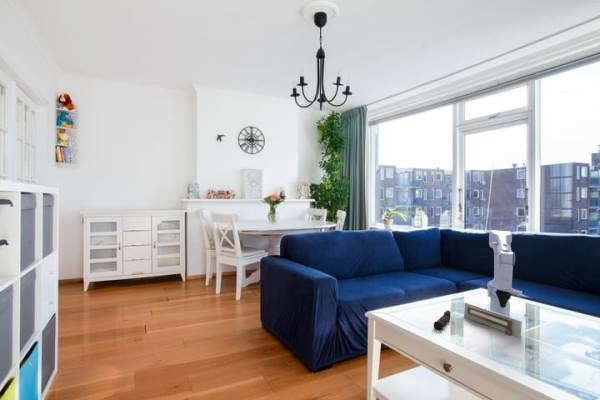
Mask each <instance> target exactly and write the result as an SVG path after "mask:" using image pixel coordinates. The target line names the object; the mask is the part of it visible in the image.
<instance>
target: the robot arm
mask: <svg viewBox="0 0 600 400" xmlns="http://www.w3.org/2000/svg"><path fill="white" fill-rule="evenodd" d="M488 234H489V237H488V240H489V241H488V244H489V247H490V248H492V249H493V253H494V255H493V257H494V258H493V259H494V261H493V262H494V263H493V264H494V265H493V268H494V269H493V270H494V271H493V274H494V275H493V276H494V277H493V279H492V280H489V281H488V282H487V284H486V287H487V297H489V299H490V300H489V301H490V302H489V310H491V311H494V312H497V313H500V314H503V315H506V316H509V317H512V316H510V313H511V303H510V300H511V299H512V296H513V295H514V296H517V297H522V296H523V291H522V290H518V289H515V288H513V287H512V286H513V271H514V270H513V269H514V266H515V262H516V255H515V252H513V250H512V247H511V245H512V244H511V243H512V241H513V233H512V231H507V230H506V231H505V230H494V229H493V230H492V229H490V231H489V233H488Z"/></svg>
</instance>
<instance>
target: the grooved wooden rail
mask: <svg viewBox="0 0 600 400" xmlns="http://www.w3.org/2000/svg"><path fill="white" fill-rule="evenodd" d="M467 314H469V315H471V316H474V317H477V318H479V319H482V320H485V321H488V322H490V323H493V324H496V325H499V326H501V327H504V328H507V329H509V330H511V325H512V320H509V319H506V318H503V317H500V316H498V315H495V314H492V313H489V312H486V311H483V310H480V309H477V308H474V307H471V306H468V310H467Z"/></svg>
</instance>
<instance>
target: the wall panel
mask: <svg viewBox="0 0 600 400" xmlns="http://www.w3.org/2000/svg"><path fill="white" fill-rule="evenodd" d="M468 306H471V307H474V308H477V309H480V310H483V311H486V312H489V313H492V314H495V315H498V316H500V317H503V318H506V319H509V320H512V325H511V330H509V329H507V328H504V327H501V326H499V325H496V324H493V323H490V322H488V321H485V320H482V319H479V318H477V317H474V316H471V315H469V314H467V310H468ZM463 309H464V310H463V316H464V318H468V319H471V320H473V321H476V322H478V323H481V324H483V325H486V326H489V327H491V328H495V329H497V330H500V331H501V332H504V334H505V335H507V336H515V337H519V338H521V337H522V324H523V320H520V319H517V318H515V317H512V316H511V317H509V316H506V315H503V314H500V313H497V312H494V311H491V310H490V309H488V308H485V307H482V306H480V305H479V306H478V305H476V304H473V303H470V302H467V301H465V302H464V308H463Z"/></svg>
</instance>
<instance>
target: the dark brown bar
mask: <svg viewBox="0 0 600 400" xmlns="http://www.w3.org/2000/svg"><path fill="white" fill-rule="evenodd" d="M451 314H452V313H451V310H445V311H444V312H443V315H442V316H440V317H439V319H437V321H434V322H433V329H434V330H437V331H443V330H444V327H445V326H446V325H447V324H448V323H450V321H451Z"/></svg>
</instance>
